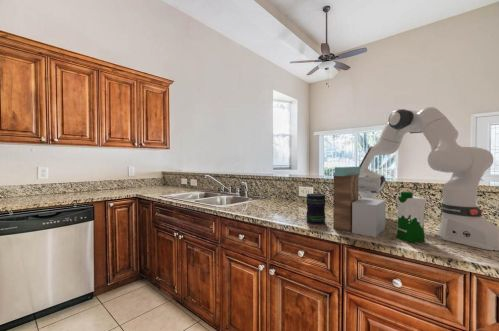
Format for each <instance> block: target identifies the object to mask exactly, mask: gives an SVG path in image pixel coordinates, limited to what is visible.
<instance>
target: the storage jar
mask: <svg viewBox="0 0 499 331" xmlns="http://www.w3.org/2000/svg"><path fill="white" fill-rule="evenodd" d="M325 206H326V194H324V193H315V192H314V193H306V215H305V216H306V223H307V224H308V225H309V224H310V225H316V226H319V225H325V224H326V211H325V209H326V207H325Z"/></svg>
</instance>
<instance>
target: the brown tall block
mask: <svg viewBox="0 0 499 331" xmlns="http://www.w3.org/2000/svg"><path fill="white" fill-rule="evenodd" d="M357 200H359V193H358V175H349V176H335V174H334V175H333V209H332V210H333V216H332V217H333V218H332V220H333V222H332V223H333V224H332V226H333V229H334V230H338V231H344V232H350V233H351V232H352V202H355V201H357Z"/></svg>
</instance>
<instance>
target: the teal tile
mask: <svg viewBox="0 0 499 331" xmlns="http://www.w3.org/2000/svg"><path fill="white" fill-rule="evenodd" d="M356 174H360V167H359V166H337V167H336V166H335V167H334V175H335V176H349V175H356Z"/></svg>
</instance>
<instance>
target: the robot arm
mask: <svg viewBox="0 0 499 331" xmlns="http://www.w3.org/2000/svg"><path fill="white" fill-rule="evenodd" d="M407 133H410V134H420V133H421V134H422V135H424V137H425V138H426V140H427V141H428V143H429V146H430V149H431V151H430V152H429V153H428V156H427V164H428V166H429V167H430V169H432V170H434V171H437V172H440V173H441V172H442V173H445V174H446V173H452V174H451V177H450V178H449V180H448V181H447V182H445V183H444V184H443V186H442V203H441V204H440V205H441V206H440V212H441V213H440V214H441V219H440V226H439V229H438V231H437V236H439V237H440V238H441V240H444V241H448V242H451V243H456V244H460V245H465V246H469V247H474V248H478V249H482V250H485V251H486V250H487V251H493V250H495V251H499V227H497V226H496V225H494V224H493V223H492V222H490V221H488V220H487V219H486V218H485V217H484V216H483V213H485V209H483V208H480V207H479V206H478V204H477V203H478V190H479V189H478V188H479V184H480V181H481V180H482V177H483V175H484V173H485V172H487V170H488V169H490V168H491V167H492V166H493V164H494V156H493V153H492V152H490V151H489V150H487V149H484V148H481V147H477V146H461V145H460V144H458V143H457V141H456V140H458V137H459V131H458V130H457V128H456V127H455V126H454V125H453V124H452V122H451V121H450V119H449V118H448V117H447V116H446V115H445V114H444V113H442V112H441V110H439V109H437V108H436V107H433V106H428V107H425V108H422V109H421V110H419V111H416V110H412V109H411V110H410V109H406V108H405V109H403V108H402V109H395V110H393V111H392V112H391V113H390V115H389V117H388V122H387V123H386V124H385V126H384V128H383V130H382V132H381V133H380V136H379V139H378V140H377V142H376V143H374V144H372V145H371V146H370V147H369V148H368V149H367V152H366V153H365V155H364V156H363V159H362V160H361V162H360V164H359V166H358V167H360V174H356V175H358V196H360V199H362V198H369V199H377V196H378V194H379V193H380V192H382V191H383V190H384V188H385V186H386V183H387V182H386V181H387V180H386V178H385V175H383V174H380V173H378V172H375V171H372V170H370V169H369V167H370V164H371V163H372V161H373V159H375V157H377V156H386V155H393V154H394V153H396V152H397V151H398V150H399V149H400V146H401V143H402V141H403V138H404V136H405V135H406V134H407Z"/></svg>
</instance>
